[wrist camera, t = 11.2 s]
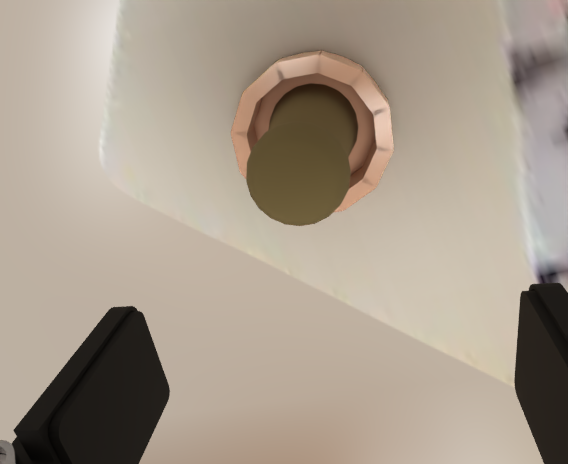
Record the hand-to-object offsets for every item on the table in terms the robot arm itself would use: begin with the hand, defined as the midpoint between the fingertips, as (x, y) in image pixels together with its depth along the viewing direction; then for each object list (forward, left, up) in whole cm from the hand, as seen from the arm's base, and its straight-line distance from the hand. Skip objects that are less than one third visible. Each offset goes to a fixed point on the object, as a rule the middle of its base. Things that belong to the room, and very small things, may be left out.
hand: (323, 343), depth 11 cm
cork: (0, -2, -22) cm, 22 cm away
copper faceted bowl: (0, -2, -23) cm, 23 cm away
